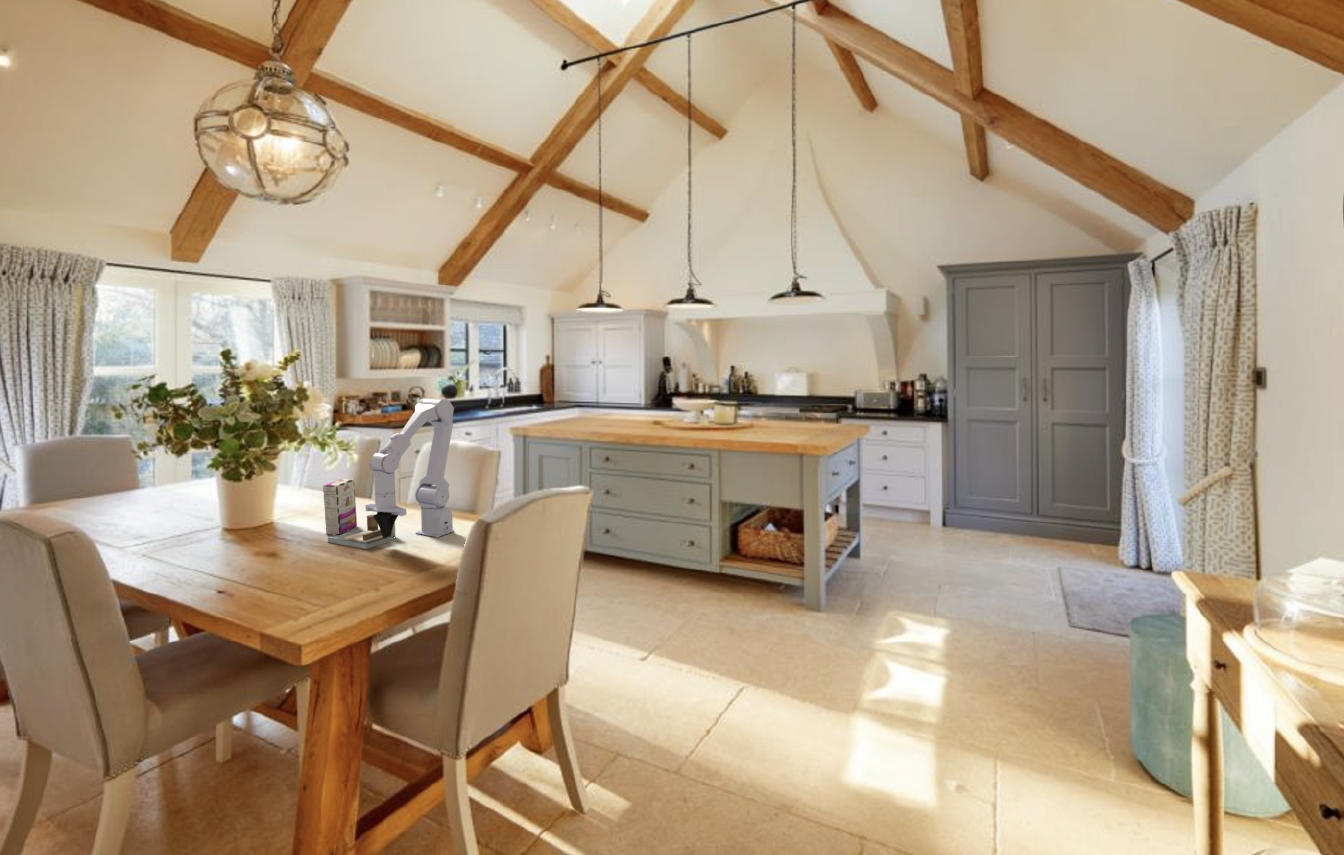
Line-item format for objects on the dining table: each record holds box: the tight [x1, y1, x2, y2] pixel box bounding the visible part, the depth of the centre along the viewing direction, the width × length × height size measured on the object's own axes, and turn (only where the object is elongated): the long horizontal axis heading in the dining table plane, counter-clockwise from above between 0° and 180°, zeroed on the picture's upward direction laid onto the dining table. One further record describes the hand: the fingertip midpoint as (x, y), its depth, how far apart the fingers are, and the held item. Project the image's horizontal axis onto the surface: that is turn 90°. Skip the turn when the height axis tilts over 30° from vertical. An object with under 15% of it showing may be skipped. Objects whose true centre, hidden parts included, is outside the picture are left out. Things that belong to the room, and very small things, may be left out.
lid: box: [345, 528, 383, 543], centre depth 201 cm, size 8×9×2 cm
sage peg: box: [389, 522, 396, 540], centre depth 208 cm, size 3×3×6 cm
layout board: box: [327, 529, 390, 550], centre depth 203 cm, size 16×9×2 cm, turn 67°
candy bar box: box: [322, 478, 358, 535], centre depth 215 cm, size 11×5×16 cm, turn 179°
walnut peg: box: [366, 514, 379, 531], centre depth 212 cm, size 3×3×6 cm
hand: (386, 536), depth 198 cm, fingers closed
